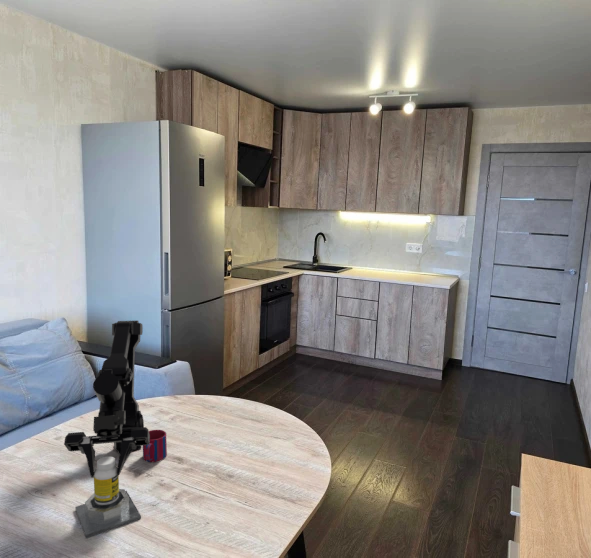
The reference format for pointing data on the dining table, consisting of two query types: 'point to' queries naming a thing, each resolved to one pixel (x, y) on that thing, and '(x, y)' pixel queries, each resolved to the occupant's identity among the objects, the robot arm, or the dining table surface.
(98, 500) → the supplement bottle
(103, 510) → the collar
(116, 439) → the robot arm
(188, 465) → the dining table surface
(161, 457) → the mug
